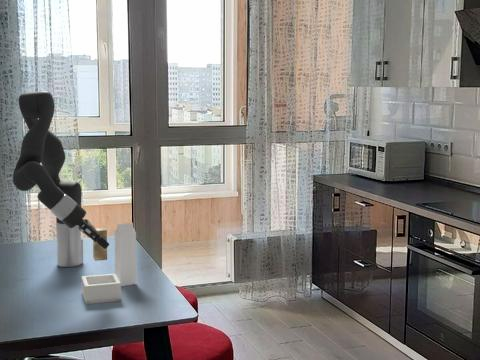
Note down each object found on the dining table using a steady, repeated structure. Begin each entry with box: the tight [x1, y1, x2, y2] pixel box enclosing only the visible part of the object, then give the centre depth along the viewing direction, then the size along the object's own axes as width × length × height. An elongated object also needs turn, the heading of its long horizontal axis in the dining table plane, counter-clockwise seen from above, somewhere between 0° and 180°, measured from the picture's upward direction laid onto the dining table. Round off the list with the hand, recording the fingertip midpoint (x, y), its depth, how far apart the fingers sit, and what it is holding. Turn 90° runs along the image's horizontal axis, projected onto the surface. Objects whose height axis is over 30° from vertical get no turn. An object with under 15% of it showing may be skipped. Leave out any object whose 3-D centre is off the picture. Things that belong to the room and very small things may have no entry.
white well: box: [81, 273, 122, 305], centre depth 204 cm, size 11×11×6 cm
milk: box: [114, 222, 137, 287], centre depth 219 cm, size 6×6×22 cm
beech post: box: [92, 227, 108, 262], centre depth 202 cm, size 4×4×10 cm
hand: (106, 244), depth 203 cm, fingers closed on beech post, 4 cm apart
